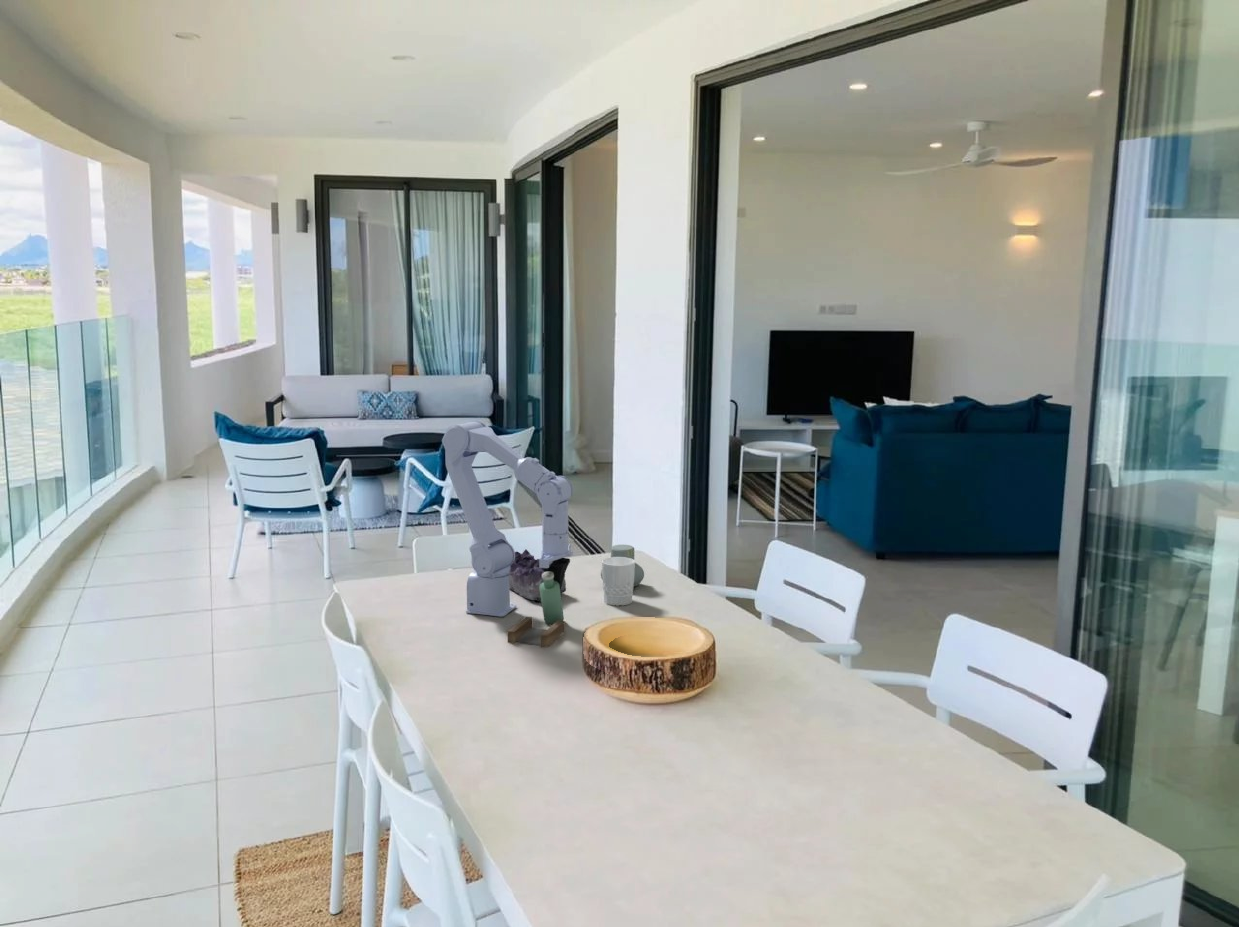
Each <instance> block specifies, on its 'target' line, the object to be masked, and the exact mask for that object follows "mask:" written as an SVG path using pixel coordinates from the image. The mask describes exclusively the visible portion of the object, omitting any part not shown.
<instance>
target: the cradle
mask: <svg viewBox="0 0 1239 927" xmlns="http://www.w3.org/2000/svg"><path fill="white" fill-rule="evenodd" d="M564 633H565V620H563V621H560V620H558V621H557V622H555V623H554V624H553V625H550V626H549V627H548V628H547V629H546V628H545V629H544V628H538V627H533V617H532V616H525V617H523V618H522V619H521V620H519V622H517V623H516V624H515V625H513V626H512V627H511V628H509V629H508V630H507V643H509V644H516V643H518V644H523V645H524V644H525V645H534V646H540V647H542V648H548V647H550V646H551V645H552V644H553V643H554V642H555V641H556V640H558V639H559V638H560V637H561V636H562V635H563V634H564Z"/></svg>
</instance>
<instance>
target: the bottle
mask: <svg viewBox="0 0 1239 927" xmlns="http://www.w3.org/2000/svg"><path fill="white" fill-rule="evenodd" d="M553 578H554V573H553V572H550V571H547V572H544V573H543V574H542V579H543V581H544V582H543V583H541V584H540V586H539V588H540V595H541V607H542V613H543V614H542V615H543V621H544V623H545V624H546V625H548V626H552V625H553V624H554V623H555V622H557V621H558V620H560V621H565V620H564V619H565V615H564V609H563V602H562V596H561V594H562V593H560V586H559V583H558V582H557V581H554V580H553Z"/></svg>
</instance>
